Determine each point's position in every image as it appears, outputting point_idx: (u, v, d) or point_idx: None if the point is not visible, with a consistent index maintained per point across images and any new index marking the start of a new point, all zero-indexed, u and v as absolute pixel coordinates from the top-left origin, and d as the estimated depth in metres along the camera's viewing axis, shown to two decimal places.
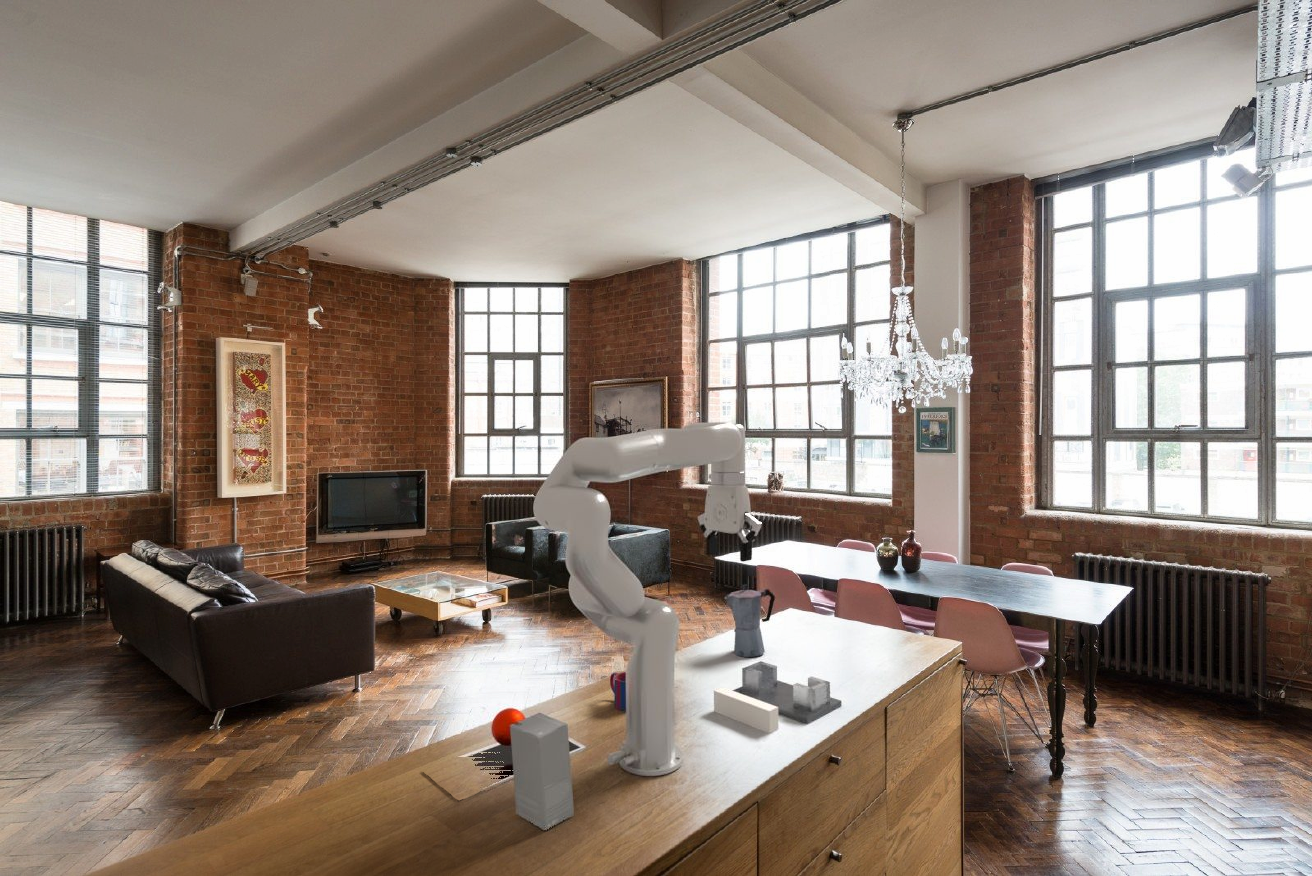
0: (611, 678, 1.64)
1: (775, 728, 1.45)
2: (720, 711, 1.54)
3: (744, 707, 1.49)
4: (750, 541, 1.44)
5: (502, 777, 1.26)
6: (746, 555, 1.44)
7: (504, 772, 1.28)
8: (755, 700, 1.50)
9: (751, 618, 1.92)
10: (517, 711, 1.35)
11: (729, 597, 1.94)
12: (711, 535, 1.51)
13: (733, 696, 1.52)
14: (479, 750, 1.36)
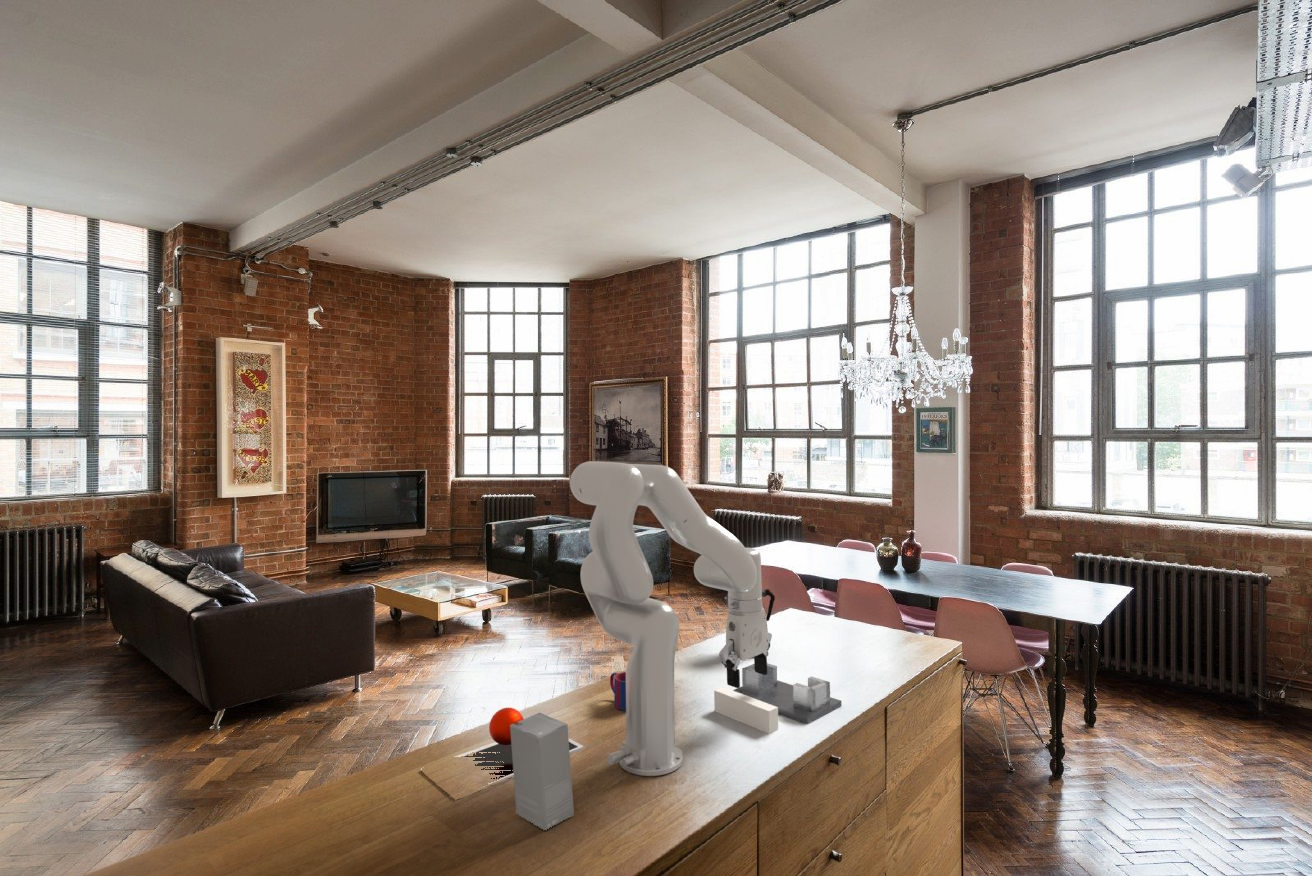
0: (611, 678, 1.64)
1: (775, 728, 1.45)
2: (720, 711, 1.54)
3: (744, 706, 1.49)
4: None
5: None
6: None
7: (501, 771, 1.28)
8: (755, 700, 1.50)
9: None
10: (515, 710, 1.35)
11: None
12: None
13: (733, 696, 1.52)
14: (477, 749, 1.37)
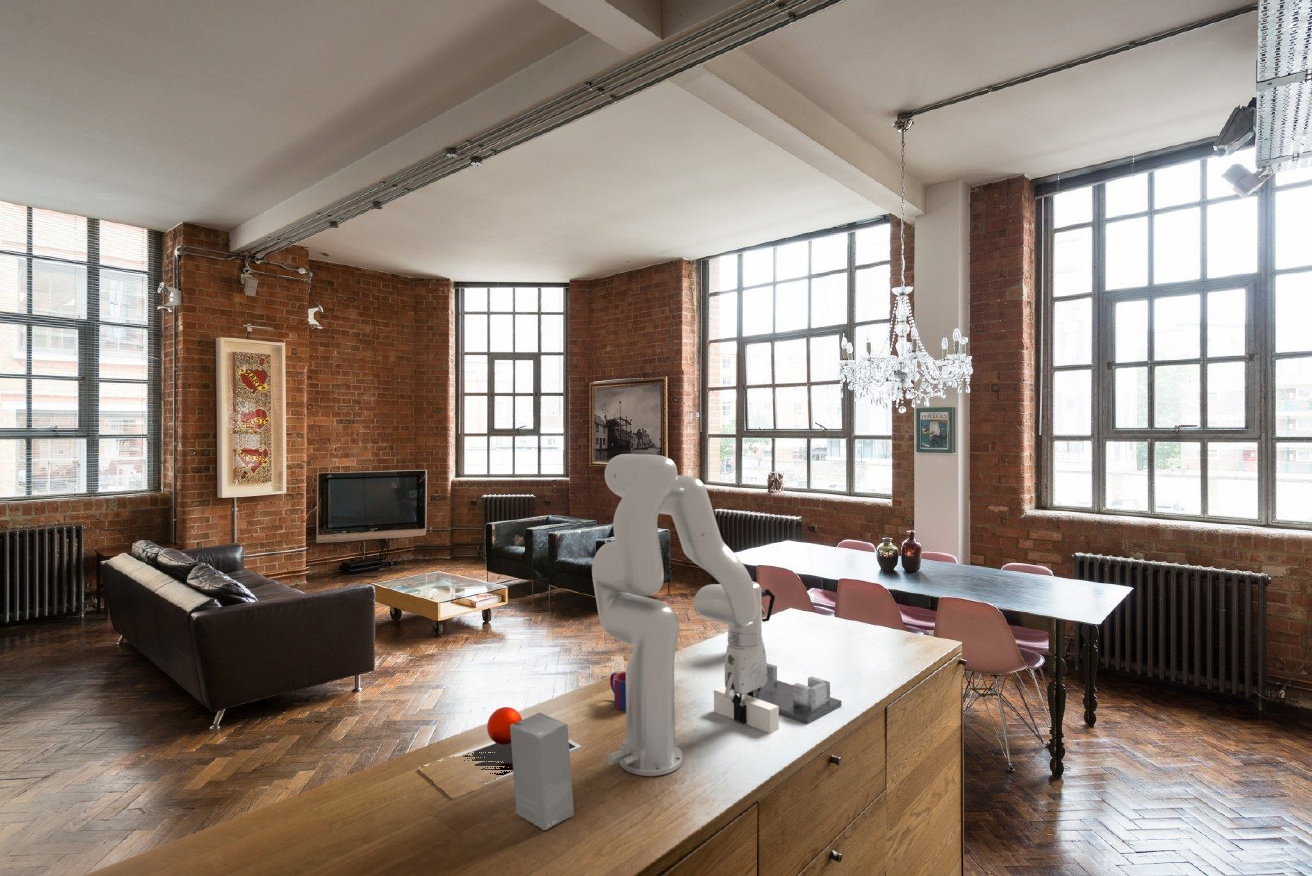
0: (611, 678, 1.64)
1: (775, 727, 1.45)
2: (720, 710, 1.54)
3: None
4: None
5: None
6: None
7: None
8: (755, 699, 1.50)
9: None
10: (513, 710, 1.35)
11: None
12: None
13: None
14: (475, 748, 1.37)
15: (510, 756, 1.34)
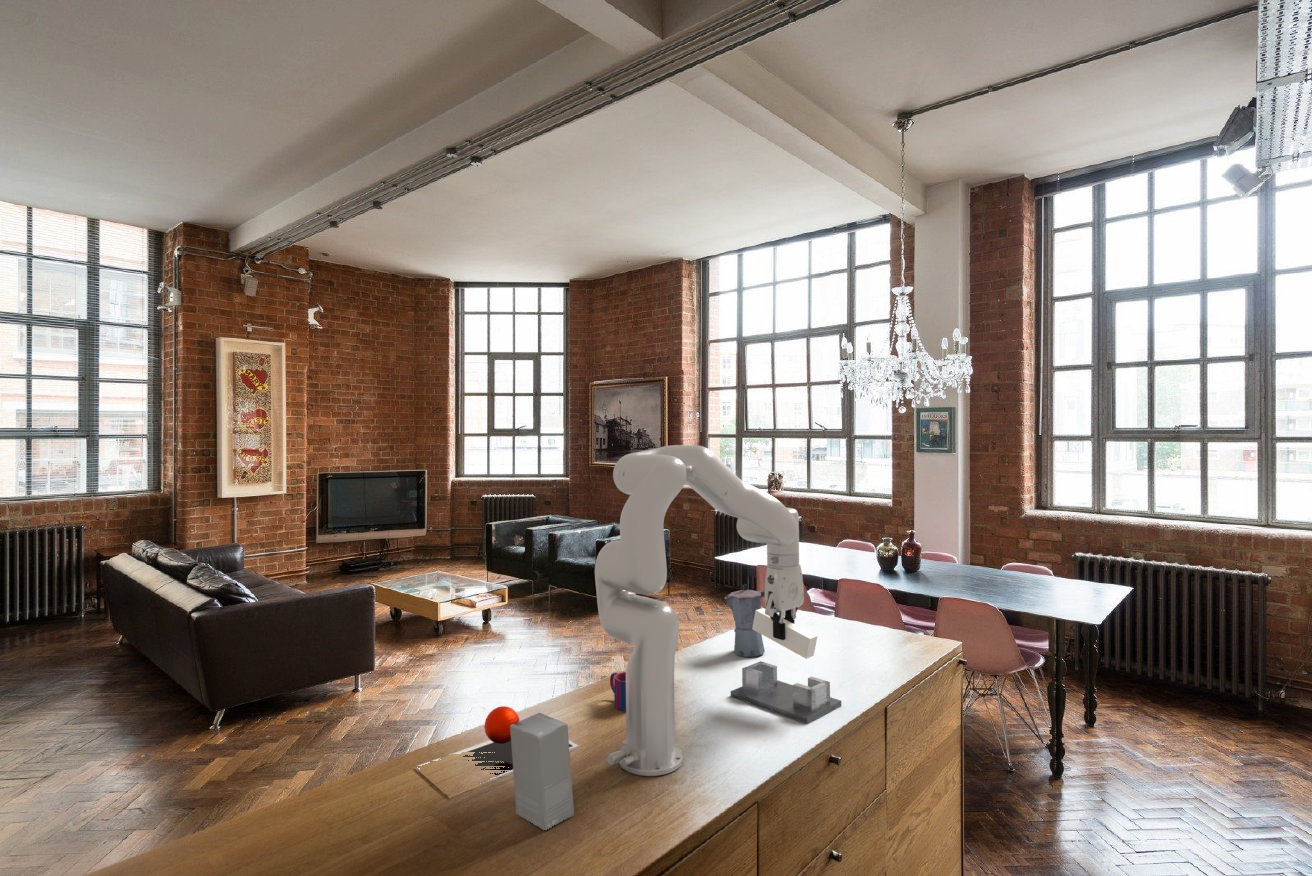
0: (611, 678, 1.64)
1: (811, 654, 1.56)
2: (759, 629, 1.64)
3: None
4: None
5: None
6: None
7: None
8: (795, 626, 1.59)
9: (751, 618, 1.92)
10: (510, 709, 1.35)
11: (729, 597, 1.94)
12: None
13: None
14: (473, 747, 1.37)
15: (507, 755, 1.34)
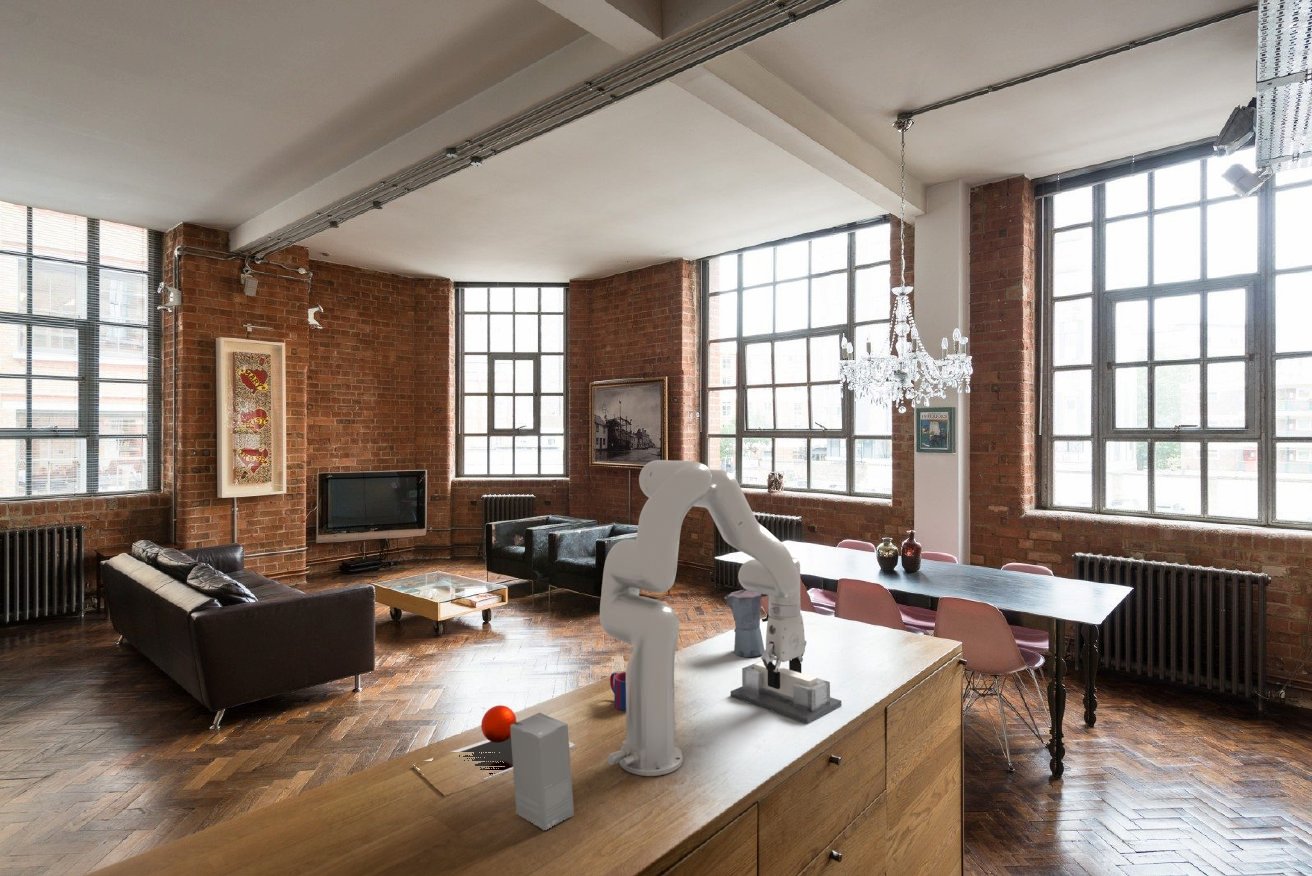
0: (611, 678, 1.64)
1: None
2: None
3: (783, 678, 1.59)
4: None
5: (490, 773, 1.27)
6: None
7: (492, 768, 1.29)
8: (794, 672, 1.60)
9: (751, 618, 1.92)
10: (507, 708, 1.36)
11: (729, 597, 1.94)
12: None
13: None
14: (470, 746, 1.38)
15: (504, 754, 1.35)
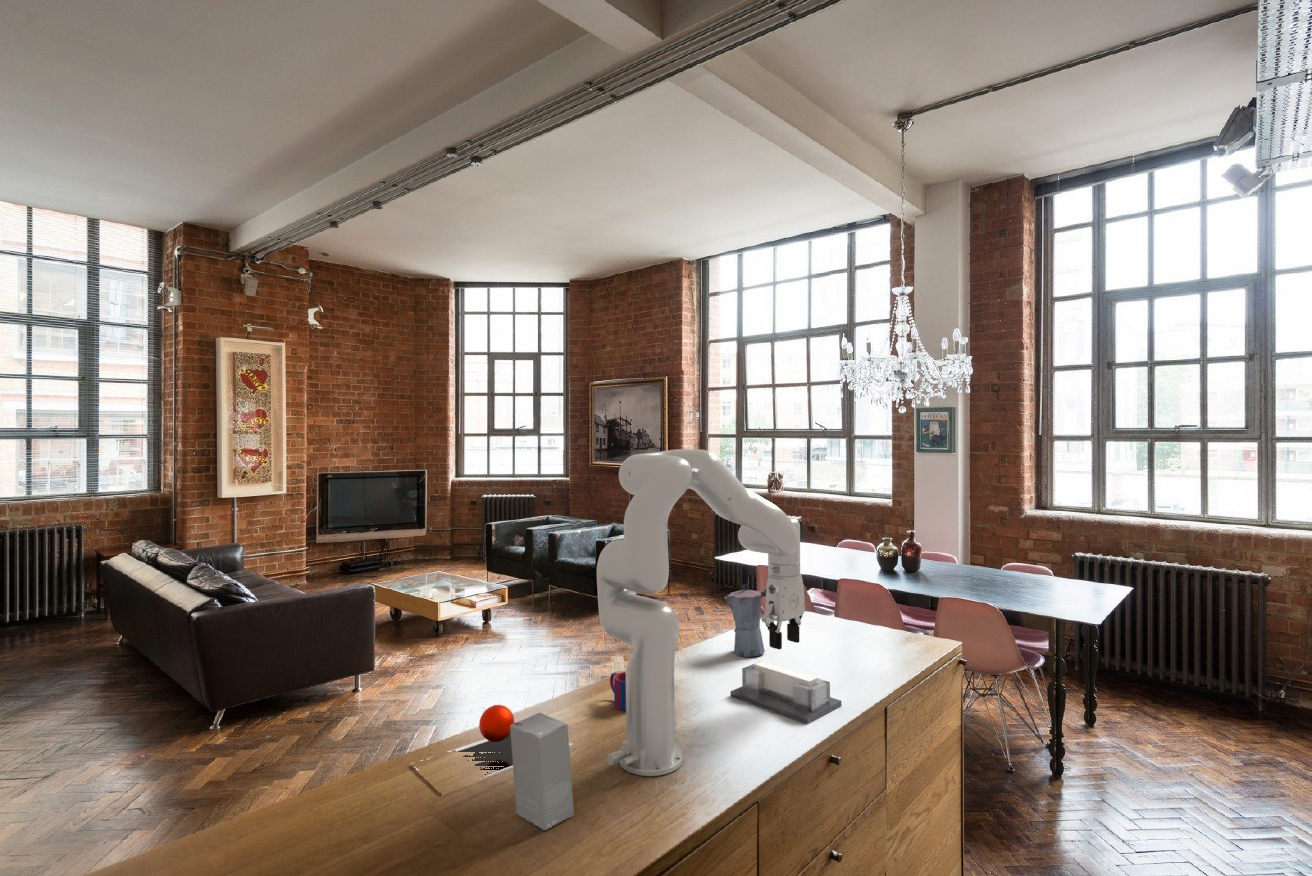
0: (611, 678, 1.64)
1: None
2: None
3: (783, 678, 1.59)
4: None
5: (487, 772, 1.27)
6: None
7: (490, 768, 1.29)
8: (794, 672, 1.60)
9: (751, 618, 1.92)
10: (504, 708, 1.36)
11: (729, 597, 1.94)
12: None
13: (773, 669, 1.62)
14: (468, 746, 1.38)
15: (502, 753, 1.35)
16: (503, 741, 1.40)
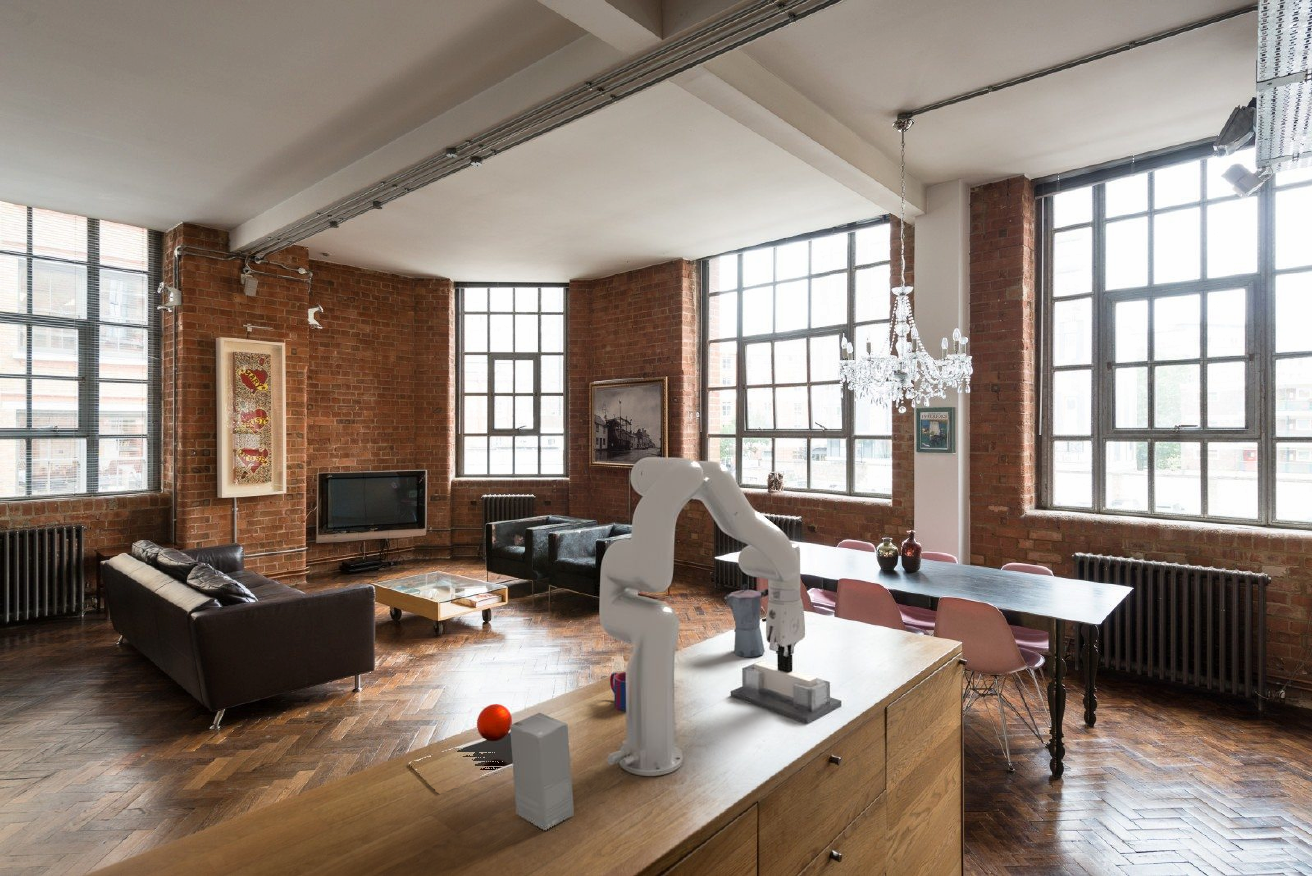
0: (611, 678, 1.64)
1: None
2: None
3: (784, 678, 1.59)
4: None
5: None
6: None
7: (487, 767, 1.30)
8: (794, 672, 1.60)
9: (751, 618, 1.92)
10: (502, 707, 1.37)
11: (729, 597, 1.94)
12: None
13: (773, 669, 1.62)
14: (466, 745, 1.39)
15: (499, 753, 1.35)
16: (501, 740, 1.41)
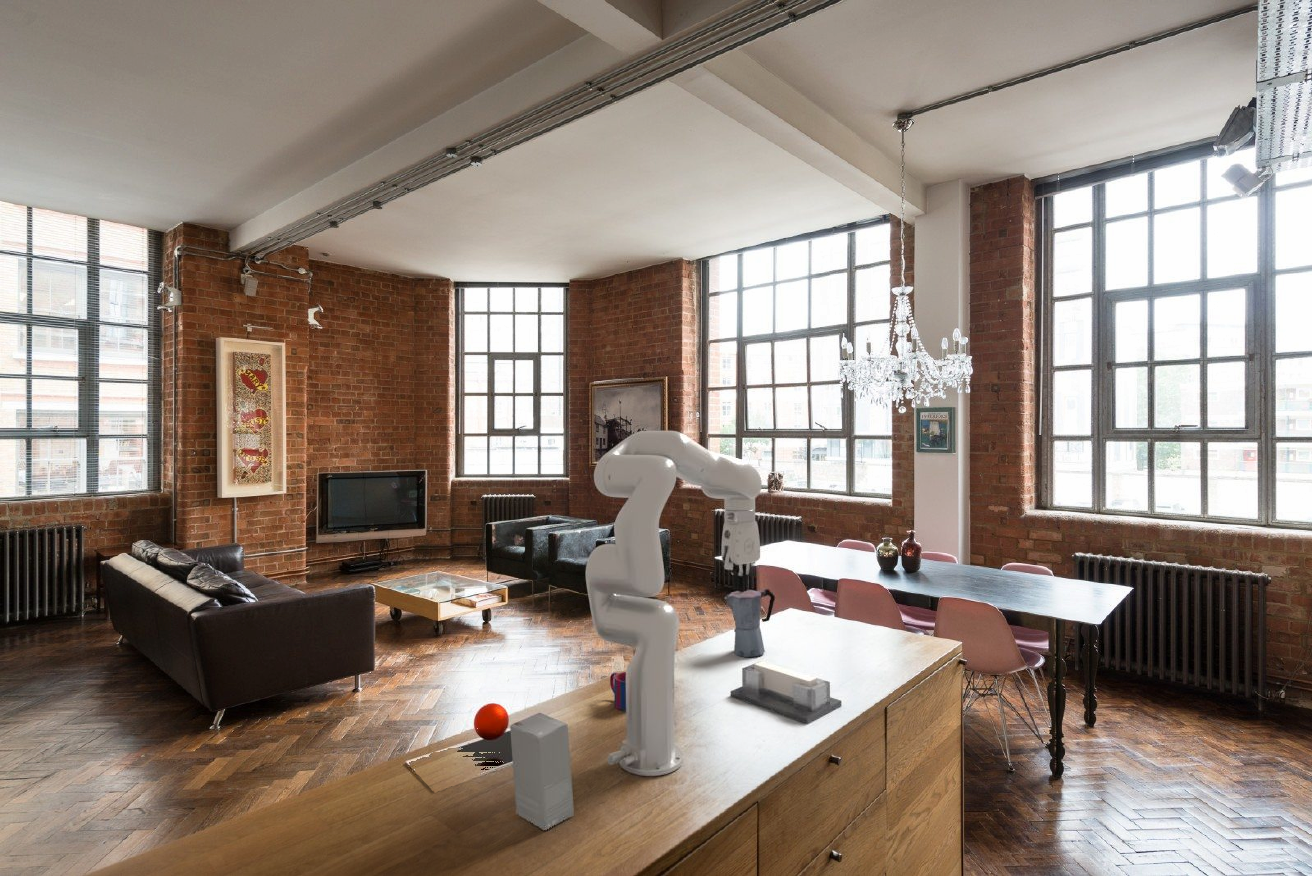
0: (611, 678, 1.64)
1: None
2: None
3: (783, 678, 1.59)
4: None
5: None
6: None
7: None
8: (794, 672, 1.60)
9: (751, 618, 1.92)
10: (499, 706, 1.37)
11: (729, 597, 1.94)
12: None
13: (773, 669, 1.62)
14: (463, 744, 1.39)
15: (496, 752, 1.36)
16: (498, 739, 1.41)
